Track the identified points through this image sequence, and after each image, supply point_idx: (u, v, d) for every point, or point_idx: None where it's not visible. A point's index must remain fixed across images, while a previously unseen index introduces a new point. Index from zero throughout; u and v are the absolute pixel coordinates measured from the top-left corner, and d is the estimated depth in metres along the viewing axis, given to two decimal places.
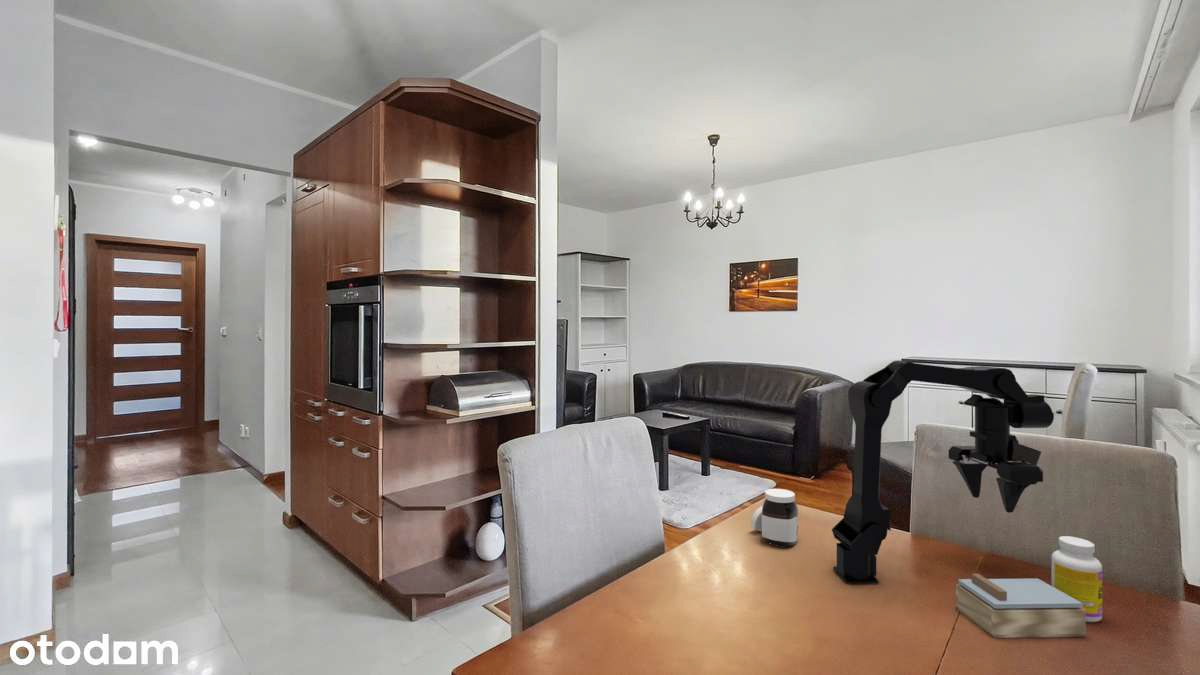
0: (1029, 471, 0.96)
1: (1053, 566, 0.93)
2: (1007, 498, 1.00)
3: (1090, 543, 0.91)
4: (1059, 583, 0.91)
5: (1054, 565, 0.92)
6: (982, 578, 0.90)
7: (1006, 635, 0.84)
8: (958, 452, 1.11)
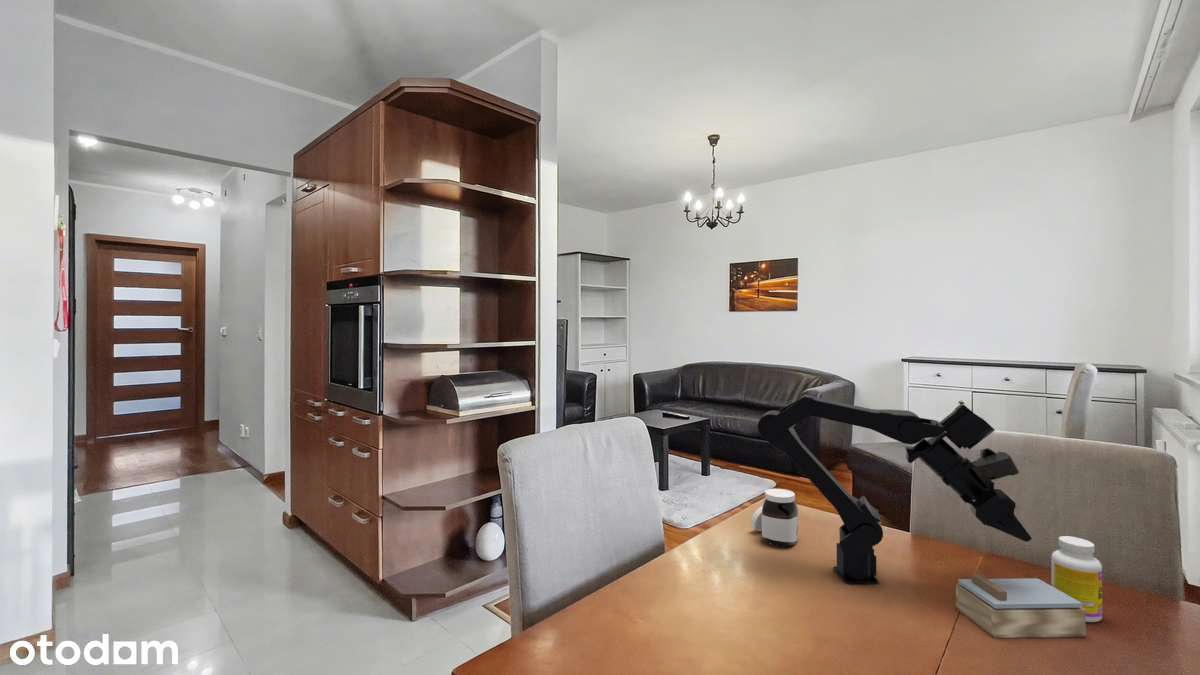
0: (992, 506, 0.89)
1: (1053, 566, 0.93)
2: (1009, 532, 0.91)
3: (1090, 543, 0.91)
4: (1059, 583, 0.91)
5: (1054, 565, 0.92)
6: (982, 578, 0.90)
7: (1006, 635, 0.84)
8: None
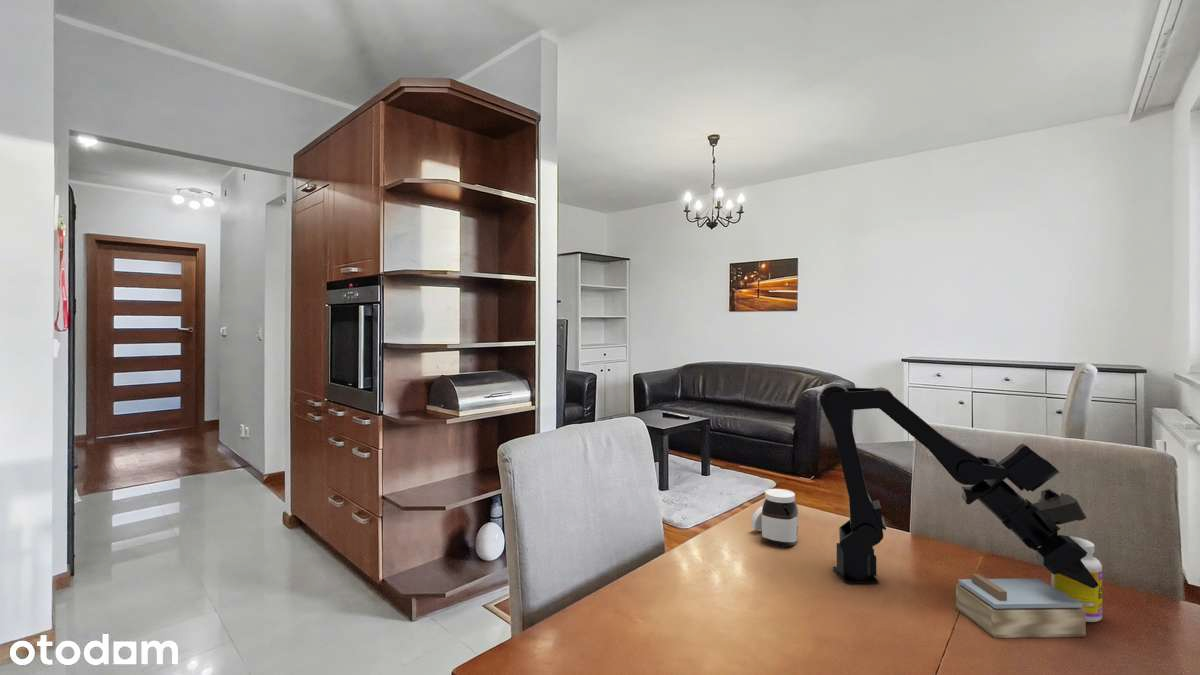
0: (1061, 555, 0.85)
1: None
2: (1075, 578, 0.88)
3: (1090, 543, 0.91)
4: (1059, 583, 0.91)
5: None
6: (982, 578, 0.90)
7: (1006, 635, 0.84)
8: None
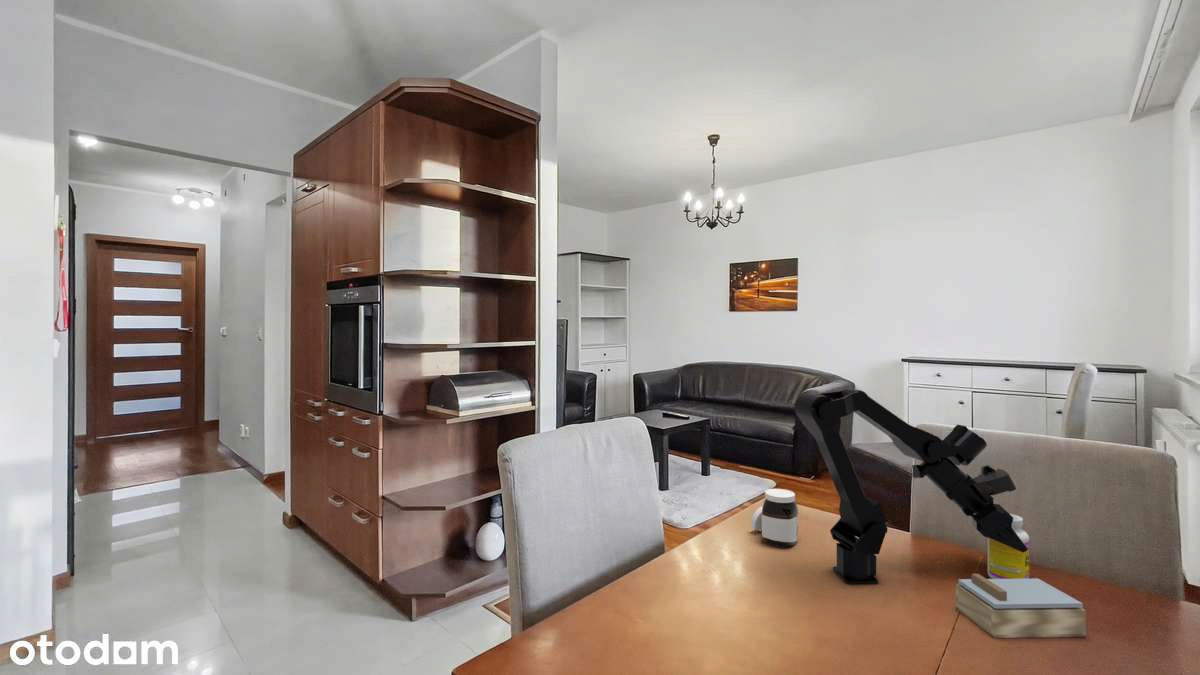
0: (991, 519, 0.97)
1: (988, 539, 1.05)
2: (1007, 543, 0.99)
3: (1019, 518, 1.03)
4: (993, 553, 1.03)
5: (988, 538, 1.05)
6: (982, 578, 0.90)
7: (1006, 635, 0.84)
8: None
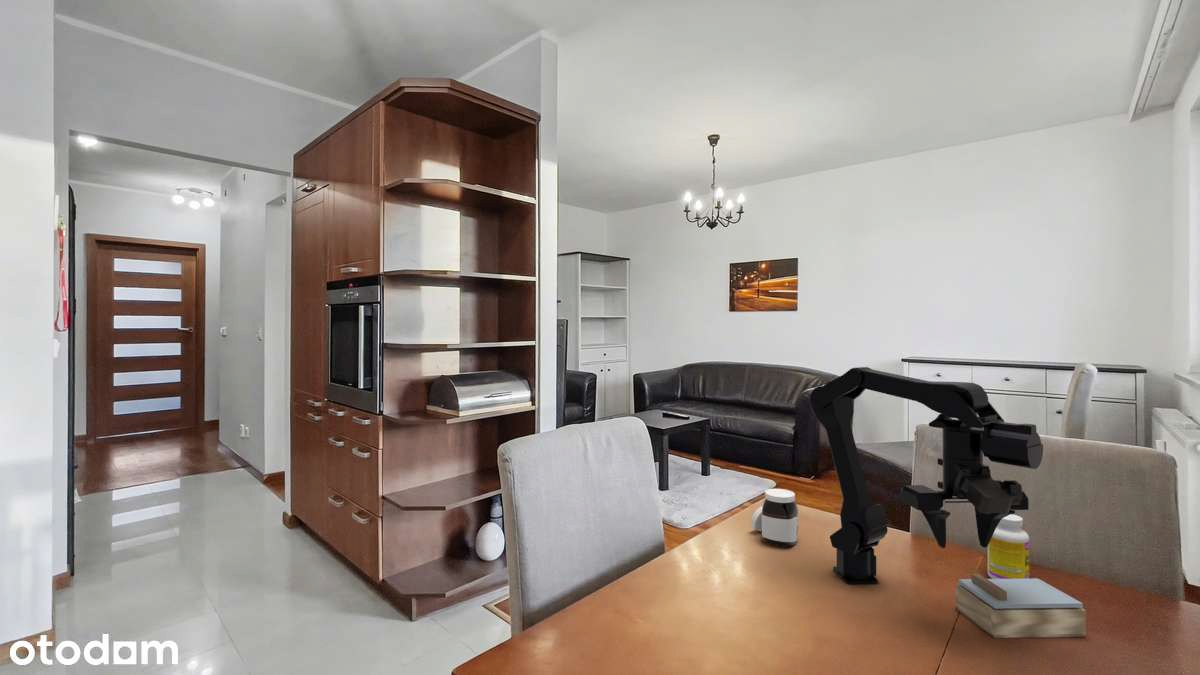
0: (909, 494, 0.89)
1: None
2: (931, 526, 0.90)
3: (1019, 518, 1.03)
4: (993, 553, 1.04)
5: None
6: (982, 578, 0.90)
7: (1006, 635, 0.84)
8: None
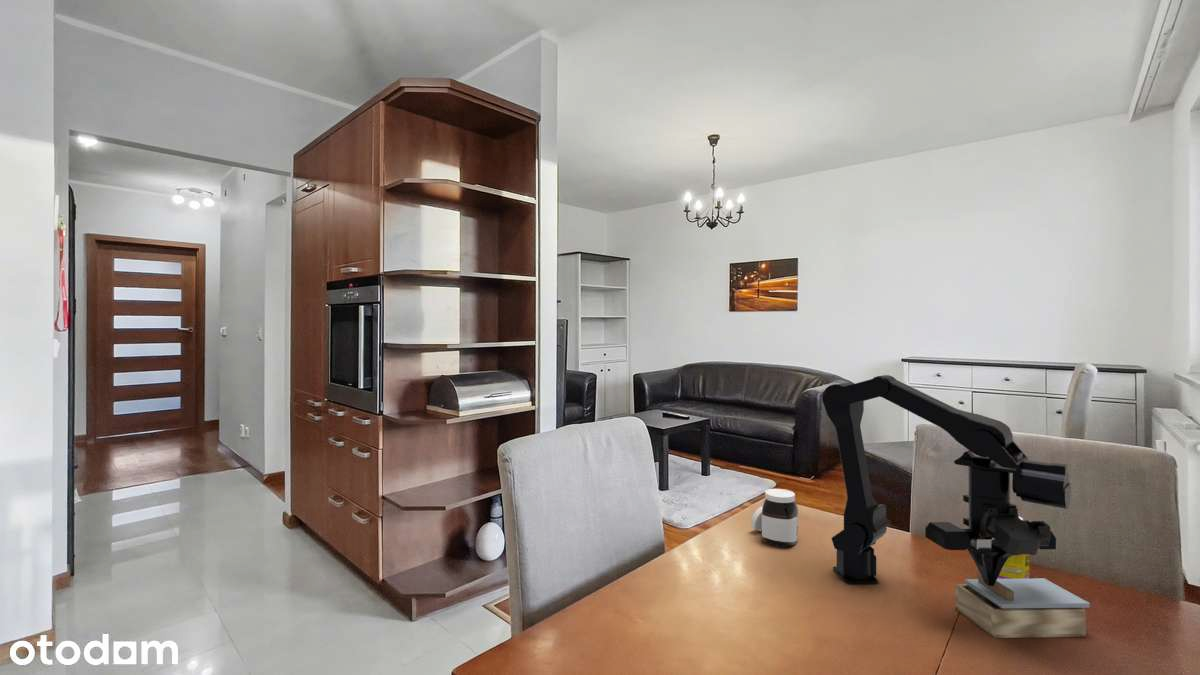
0: (935, 531, 0.89)
1: None
2: (976, 564, 0.90)
3: (1020, 518, 1.03)
4: None
5: None
6: None
7: (1006, 635, 0.84)
8: None
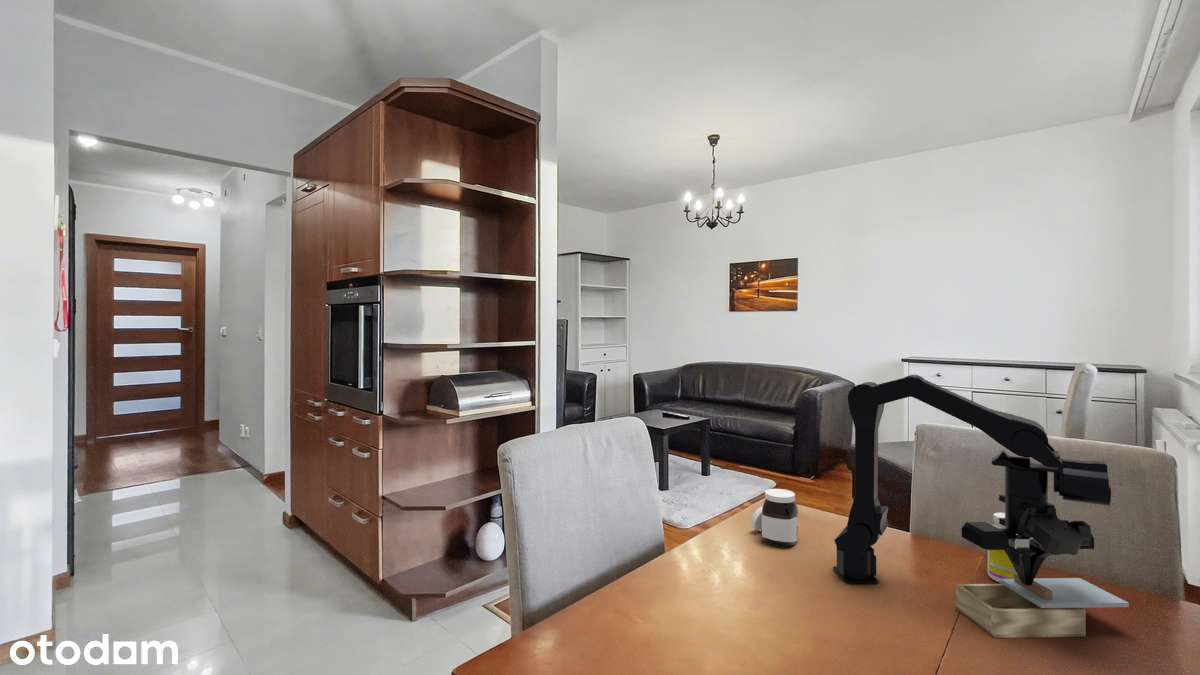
0: (972, 531, 0.89)
1: None
2: (1013, 563, 0.90)
3: None
4: (993, 553, 1.04)
5: None
6: None
7: (1006, 635, 0.84)
8: None
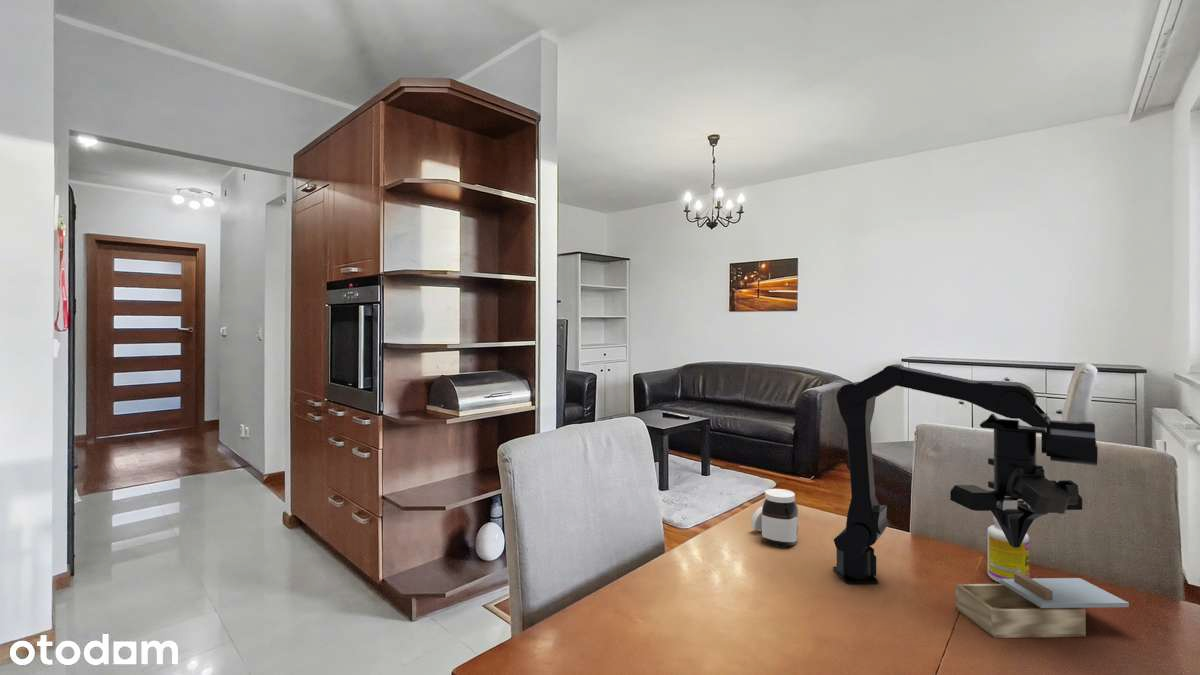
0: (960, 493, 0.89)
1: (988, 539, 1.05)
2: (1001, 526, 0.90)
3: None
4: (993, 553, 1.03)
5: (989, 538, 1.05)
6: (1025, 578, 0.90)
7: (1006, 635, 0.84)
8: None
